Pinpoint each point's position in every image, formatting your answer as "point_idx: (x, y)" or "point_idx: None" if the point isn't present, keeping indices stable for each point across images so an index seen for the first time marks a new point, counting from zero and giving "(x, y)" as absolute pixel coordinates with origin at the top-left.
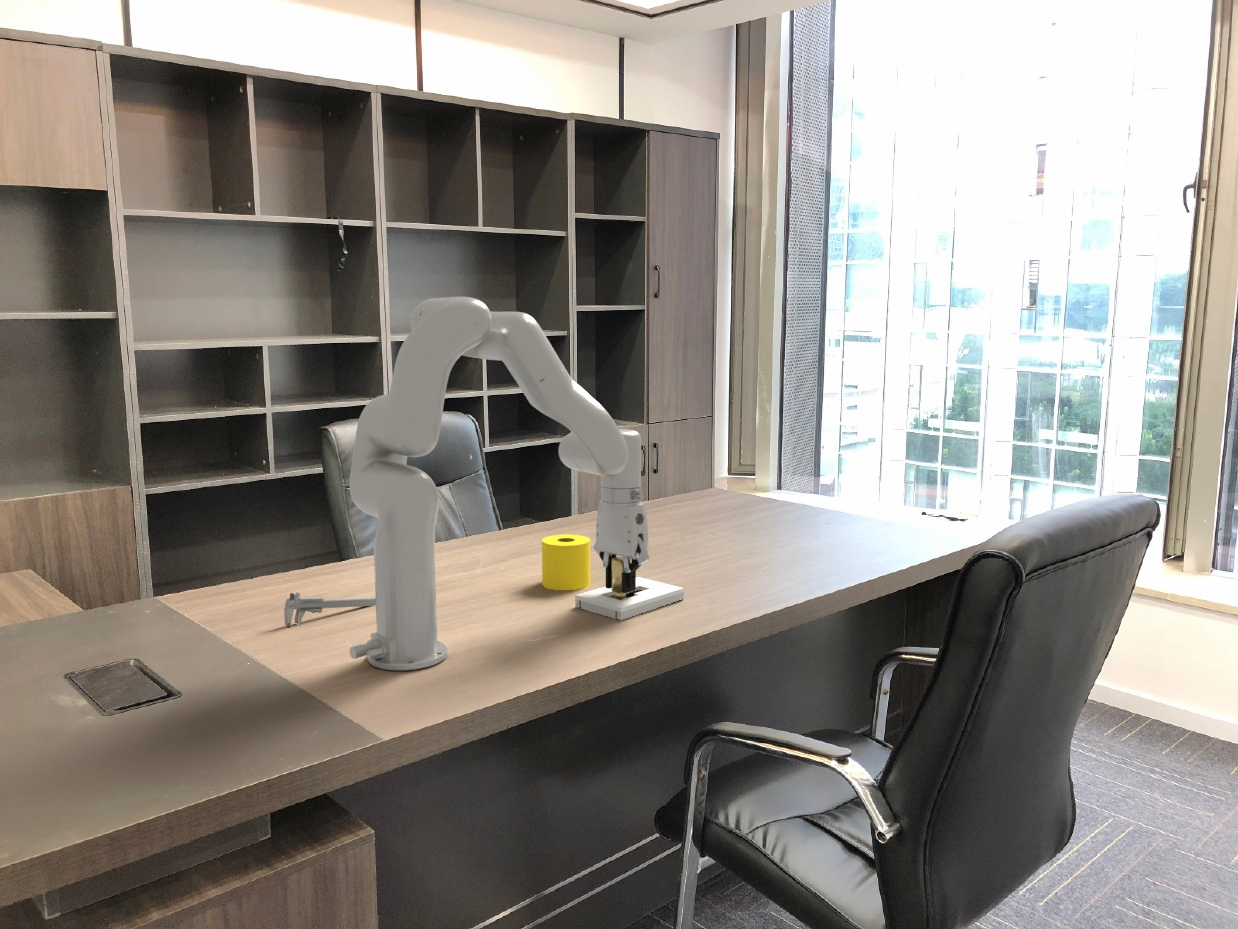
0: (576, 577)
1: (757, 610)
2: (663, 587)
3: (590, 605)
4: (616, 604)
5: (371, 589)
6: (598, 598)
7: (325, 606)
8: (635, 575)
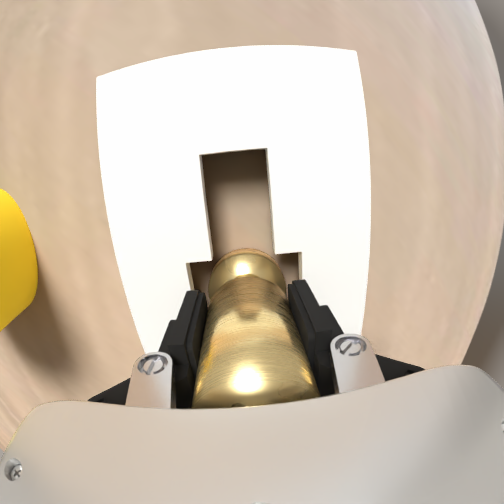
0: (14, 282)
1: (483, 56)
2: (296, 93)
3: None
4: None
5: (8, 429)
6: None
7: None
8: (343, 333)
